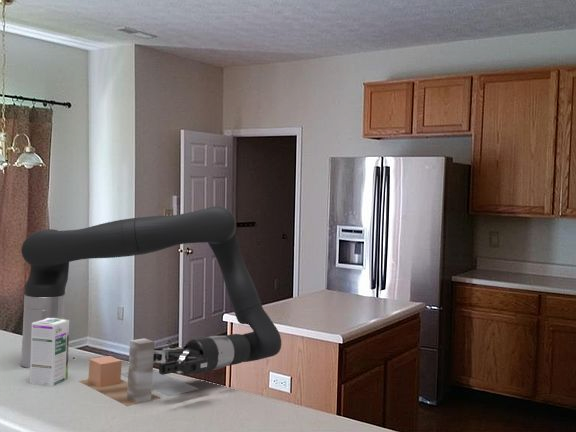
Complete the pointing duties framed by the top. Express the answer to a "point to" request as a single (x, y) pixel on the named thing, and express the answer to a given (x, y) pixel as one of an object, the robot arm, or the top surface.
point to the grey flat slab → (167, 384)
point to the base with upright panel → (133, 376)
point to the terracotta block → (104, 371)
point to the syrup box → (49, 351)
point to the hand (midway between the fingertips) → (148, 364)
